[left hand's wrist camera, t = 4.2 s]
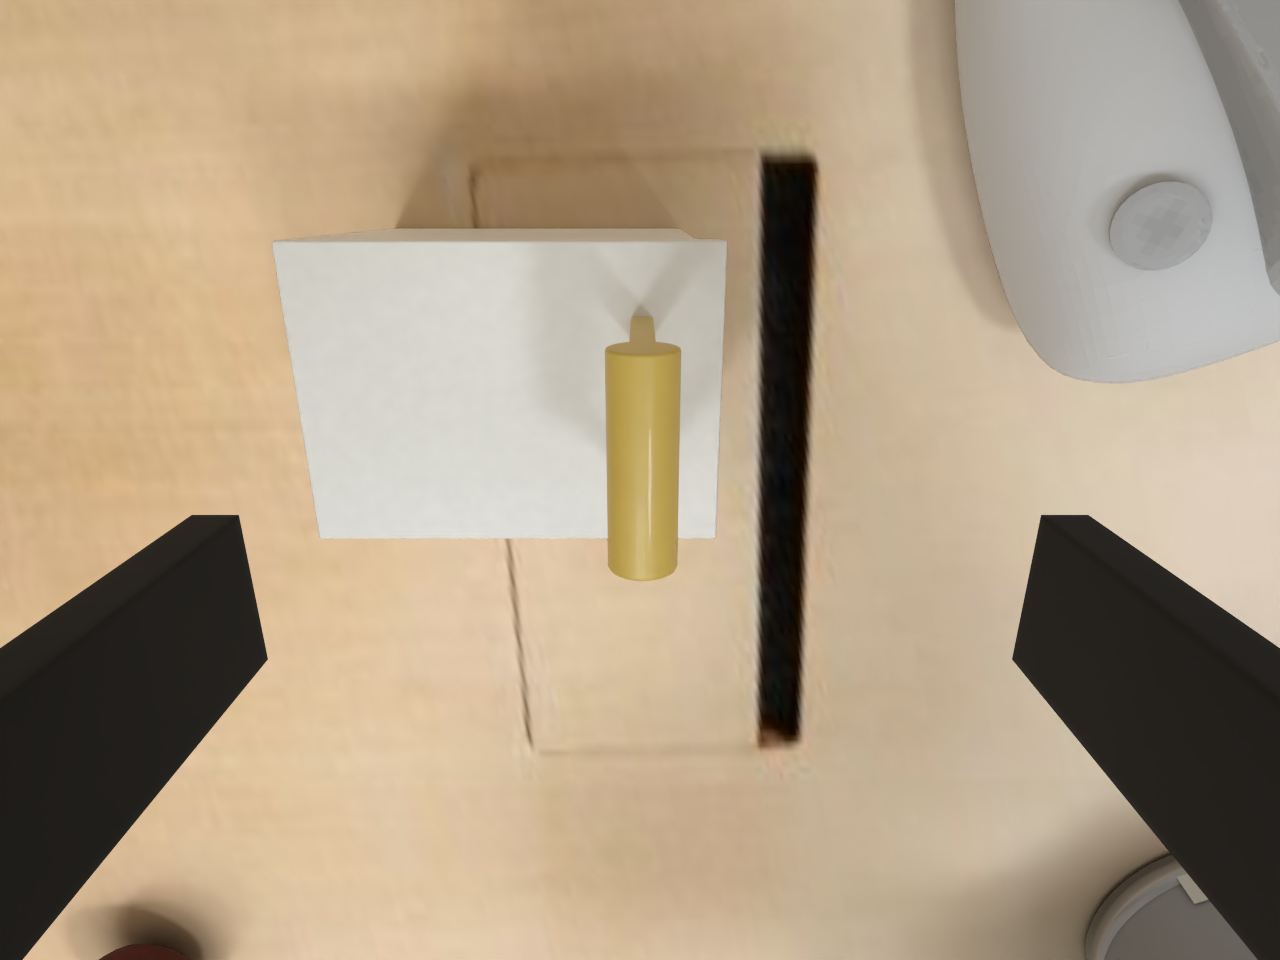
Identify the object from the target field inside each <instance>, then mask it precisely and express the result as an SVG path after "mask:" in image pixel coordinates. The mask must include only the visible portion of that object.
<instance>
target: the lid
mask: <svg viewBox="0 0 1280 960" xmlns="http://www.w3.org/2000/svg"><path fill="white" fill-rule="evenodd" d="M272 248H273V254H274V260H275V266H276V273H277V279H278V285H279V291H280V297H281V303H282V309H283V316H284V322H285V328H286V334H287V340H288V346H289V352H290V359H291V365H292V371H293V377H294V383H295V389H296V395H297V402H298V408H299V414H300V420H301V426H302V432H303V438H304V445H305V451H306V457H307V463H308V469H309V475H310V481H311V487H312V494H313V500H314V506H315V512H316V518H317V524H318V530H319V537H320V538H608V566H609V568H610V570H611V571H612V572H613V573H614V574H615V575H617V576H619V577H622V578H625V579H629V580H635V581H650V580H657V579H661V578H664V577H666V576H668V575H670V574H671V573H673V572H674V571H675V569H676V567H677V549H678V538H715V537H716V522H717V497H718V471H719V445H720V419H721V393H722V368H723V342H724V316H725V290H726V265H727V241H724V240H722V239H286V240H277V241H272Z"/></svg>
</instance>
